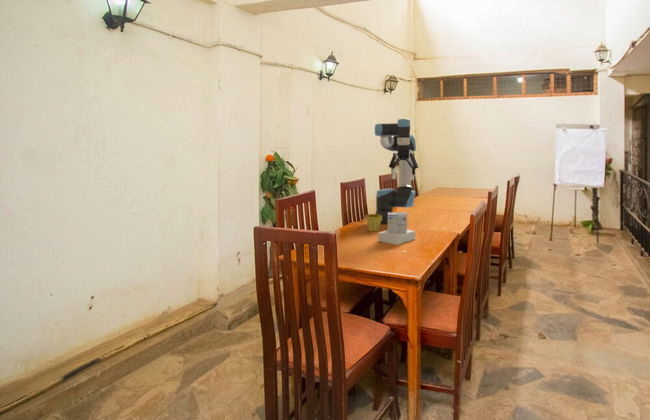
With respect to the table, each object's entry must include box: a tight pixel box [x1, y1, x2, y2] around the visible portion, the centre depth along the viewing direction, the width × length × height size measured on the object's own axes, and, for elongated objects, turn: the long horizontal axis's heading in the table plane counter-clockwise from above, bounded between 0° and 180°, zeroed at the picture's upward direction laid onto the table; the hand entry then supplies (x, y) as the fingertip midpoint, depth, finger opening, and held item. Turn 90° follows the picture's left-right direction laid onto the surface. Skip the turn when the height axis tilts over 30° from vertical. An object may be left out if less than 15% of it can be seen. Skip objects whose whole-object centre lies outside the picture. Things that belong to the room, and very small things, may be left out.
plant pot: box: [365, 213, 382, 232], centre depth 257 cm, size 10×10×10 cm
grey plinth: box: [378, 229, 416, 246], centre depth 230 cm, size 13×17×5 cm
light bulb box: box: [387, 212, 408, 233], centre depth 229 cm, size 11×7×11 cm, turn 85°
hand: (402, 179), depth 249 cm, fingers open, 13 cm apart
